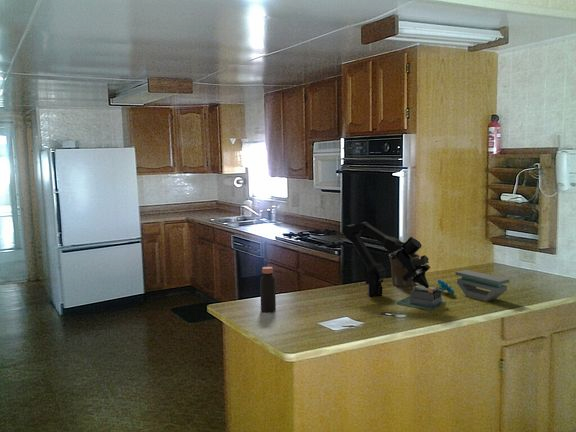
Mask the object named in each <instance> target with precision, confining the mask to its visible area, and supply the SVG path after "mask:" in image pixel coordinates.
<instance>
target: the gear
mask: <svg viewBox="0 0 576 432" xmlns="http://www.w3.org/2000/svg"><path fill="white" fill-rule="evenodd" d="M436 281H437V284H438V286H437V287H438V290H441V295H442V294H443V292H444V291H447V292H448V293H450V294H455V290H454V289H453V288H452V286H450V285H449V284H448V283H446V282H444V280H441V279H437V280H436Z"/></svg>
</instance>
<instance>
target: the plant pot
mask: <svg viewBox="0 0 576 432" xmlns="http://www.w3.org/2000/svg"><path fill="white" fill-rule="evenodd" d="M396 253H397V252H390V253H389V254H388V256H389V262H390V268H391V283H392V285H393V286H394V287H395V286H396V287H401V288H404V287H406V288H409V287H411V288H413V287H414V286H416V282H414V281H411V280H412V279H413V278H412V277H410V278H409V279H408V281H407V282H404V281H403V280H402V276H403V275H404V274H405V273H406V272H407V270H406V269H405V268H404V269H403V268H402V267H403V266H402V264H401V263H400V262H399V261H398V259H394V260H392V254H396ZM410 256H411V257H412V259H413V258H415V259H416V260H418V259H420V258H421V256H420V254H418V253H415V254H414V255H410Z"/></svg>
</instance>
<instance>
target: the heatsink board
mask: <svg viewBox="0 0 576 432" xmlns="http://www.w3.org/2000/svg"><path fill="white" fill-rule="evenodd" d="M417 286H422V285H420V284H418V283H417V285H414V286H412V290H410V295H409V296H407V297H405V298H402V299H400V300H398V301H396V304H397V305H401V306H405V307H412V308H416V309H417V308H418V309H422V310H427V311H434V310H437V309H439V308H440V307H442V306H444V305H445V304H446V301H442V300H443V299H442V298H443V296H442V294H441V289H440V290H438V289H439V288H438V287H439V286H435V285H434V286H432V287H436V288H437V290H436V291H433V289H431V288H429V289H428V291H424V290H416V287H417Z"/></svg>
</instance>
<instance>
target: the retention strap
mask: <svg viewBox="0 0 576 432" xmlns="http://www.w3.org/2000/svg"><path fill="white" fill-rule="evenodd" d="M429 288H431V289H433V291H436V290H437V288H436V287H433V286H429V287H428V288H426V287H424V286H422V285H421V286H418V285H416V290H424V291H428V289H429Z"/></svg>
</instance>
